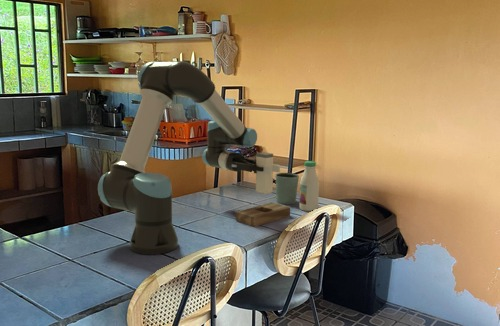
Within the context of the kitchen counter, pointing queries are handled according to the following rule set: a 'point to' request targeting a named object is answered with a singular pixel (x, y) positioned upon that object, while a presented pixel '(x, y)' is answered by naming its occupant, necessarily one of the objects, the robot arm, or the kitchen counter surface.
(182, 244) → the kitchen counter surface
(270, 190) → the plug
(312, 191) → the milk bottle
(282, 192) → the green cup
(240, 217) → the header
